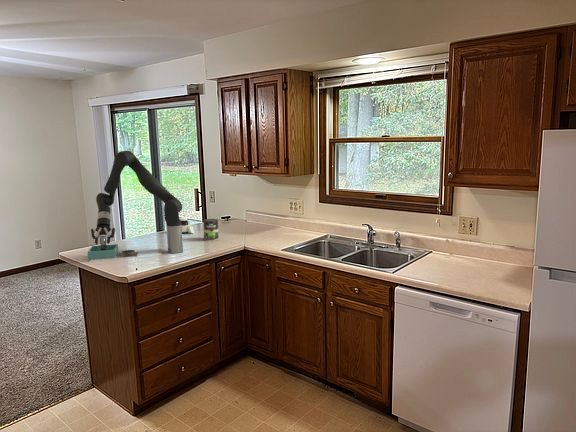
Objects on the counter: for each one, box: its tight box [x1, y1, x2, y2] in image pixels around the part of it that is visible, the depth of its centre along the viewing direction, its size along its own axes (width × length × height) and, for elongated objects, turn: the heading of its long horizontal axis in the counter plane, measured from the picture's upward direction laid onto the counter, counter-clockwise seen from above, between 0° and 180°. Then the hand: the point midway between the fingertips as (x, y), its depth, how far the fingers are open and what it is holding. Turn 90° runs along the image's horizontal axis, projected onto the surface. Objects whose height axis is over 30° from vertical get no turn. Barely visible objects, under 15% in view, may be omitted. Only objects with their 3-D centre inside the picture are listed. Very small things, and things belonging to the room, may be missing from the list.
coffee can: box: [203, 218, 220, 242], centre depth 304 cm, size 10×10×14 cm
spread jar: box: [179, 216, 195, 235], centre depth 326 cm, size 12×11×12 cm
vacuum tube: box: [99, 235, 107, 251], centre depth 259 cm, size 5×5×12 cm
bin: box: [87, 243, 120, 262], centre depth 260 cm, size 15×15×6 cm
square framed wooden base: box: [116, 249, 139, 259], centre depth 261 cm, size 11×11×3 cm
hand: (102, 243), depth 257 cm, fingers open, 5 cm apart
